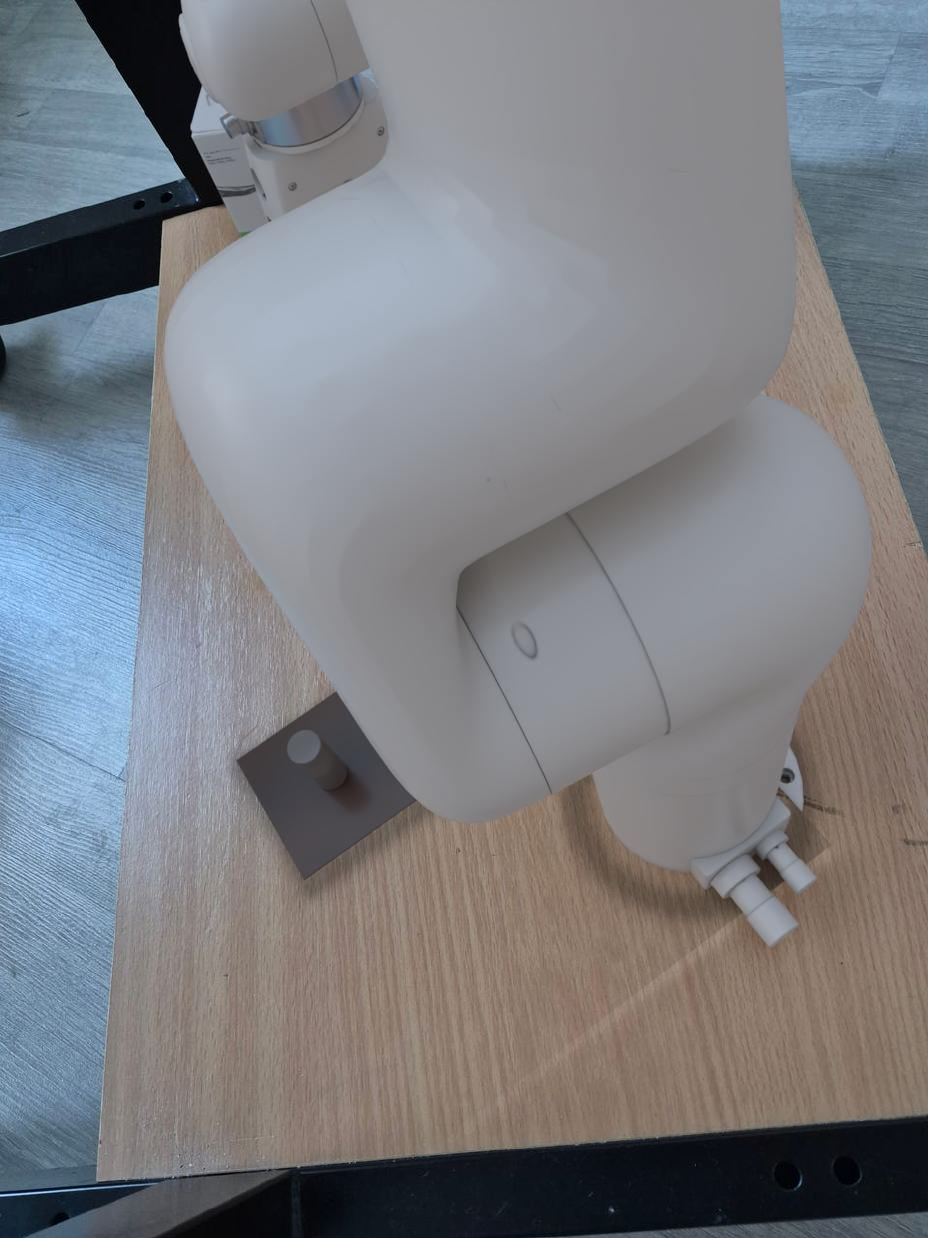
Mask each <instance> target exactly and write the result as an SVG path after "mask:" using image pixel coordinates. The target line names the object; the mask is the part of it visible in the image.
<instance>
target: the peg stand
mask: <svg viewBox="0 0 928 1238" xmlns="http://www.w3.org/2000/svg"><path fill="white" fill-rule="evenodd" d="M236 763H237V765H238V767H239V768H240V770H241V772H242V774H243V775H244V777H245V778H246V779H245V780H247V783H248V785H249V786H250V788H251V789H252V791H253V793H254V794H255V796H256V798H257V800H258V801H259V804H260V806H261V807H262V808H263V811H264V812H265V814H266V815H267V818H268V819H269V821H270V823H271V824H272V826H273V828H274V829H275V832H276V833H277V835H278V837H279V838H280V840H281V842H282V843H283V846H284V848H285V849H286V850H287V852H288V854H289V856H290V858H291V859H292V861H293V863H294V865H295V866H296V868H297V870H298V872H299V873H300V875H301V876H302V879H303V880H306V879H309V878H310V877H311V876H313V875H314V874H315V873H317V872H318V871H319V870H321V869H322V868H323V867H326V866H327V865H328V864H329V863H331V862H332V861H334V860H335V859H336V858H338V857H339V856H341V855H343V854H344V853H345V852H347V851H348V850H349V849H350V848H352V847H353V846H355V845H356V844H357V843H359V842H361V841H362V840H363V839H364V838H366V837H367V836H369V835H370V834H371V833H373V832H374V831H376V830H377V829H379V828H380V827H381V826H383V825H385V823H387V822H388V821H390V820H391V819H393V818H394V817H396V816H397V815H398V814H399V813H401V812H403V811H404V810H405V809H406V808H408V807H409V806H411V805H413V804H414V803H415V802H417V800H416V799H415V798H414V797H413V796H412V795H411V794H410V793H409V792H408V791H407V790H406V789H405V788H404V787H403V786H402V784H401V783H400V782H399V781H398V780H397V779H396V777H395V776H394V775H393V774H392V772H391V771H390V770H389V768H388V767H387V766H386V764H385V763H384V761H383V760H382V759H381V757H380V756H379V754H378V753H377V752H376V750H375V749H374V747H373V746H372V745H371V743H370V742H369V740H368V739H367V737H366V736H365V734H364V733H363V731H362V730H361V728H360V726H359V725H358V723H357V722H356V720H355V719H354V717H353V716H352V714H351V713H350V711H349V710H348V708H347V707H346V705H345V704H344V702H343V701H342V699H341V698H340V696H339V695H338V693H337V692H336V691H335V692H333V693H331V694H330V695H329V696H327V697H326V698H324V699H323V700H322V701H320V702H319V703H317V704H316V705H314V706H313V707H312V708H310V709H309V710H307V711H305V712H304V713H303V714H301V715H300V716H299V717H297V718H296V719H294V720H292V721H291V722H290V723H288V724H287V725H286V726H284V727H283V728H281V729H279V730H278V731H277V732H275V733H273V734H272V735H271V736H270V737H267V739H265V740H263V741H262V742H261V743H259V744H258V745H256V746H255V747H254V748H252V749H250V750H249V751H248V752H247V753H245V754H244V755H242V756H240V757H239V758H238V759H236Z"/></svg>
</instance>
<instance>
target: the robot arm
mask: <svg viewBox="0 0 928 1238" xmlns="http://www.w3.org/2000/svg"><path fill="white" fill-rule="evenodd" d="M180 5H181V6H180V7H181V11H182V13H180V14H179V16H178V24H179V25H178V26H179V29H180V30H179V32H180V33H179V34H180V36H181V39H182V42H183V45H184V48H185V51H186V53H187V57H188V59H189V63H190V64H191V67H192V68H193V71H194V73H195V75H196V76H197V78H198V80H199V82H200V84H201V87H202V86H203V88H204V89H205V91H206V93H208V94H209V97H210V98H211V99H212V100H213V101H214V102H216V103H218V104H220V105H221V106H222V107H223V108H224V109H225V110H226V111H227V112H229V113H227V114H225V115H224V116H222V117H220V121H221V124H222V126H223V128H224V129H225V131H226V133H227V134H228V136H229V137H230V138H231V139H233V138H235V137H237V136H238V135H240V134H242V135H243V138H244V144H245V150H246V154H247V159H248V163H249V167H250V170H251V174H252V178H253V181H254V185H255V188H256V191H257V194H258V197H259V200H260V203H261V205H262V208H263V211H264V214H265V216H266V219H267V222H268V223H266V224H265V225H263V226H261V227H259V228H257V229H256V230H254V231H252V232H250V233H249V234H247V235H245V236H243V237H241V236H240V238H238V239H236V240H235V241H233V242H232V243H230V244H229V245H227V246H226V247H225V248H223V249H222V250H221V251H219V252H218V253H216V254H215V255H214V256H212V257H211V258H209V259H208V260H207V261H205V263H203V264H202V265H201V266H200V267H199V268H198V269H197V270H196V271H195V272H194V273H193V274H192V275H191V276H190V278H189V279H188V280H187V282H185V284H184V286H182V288H181V290H180V291H179V293H178V294H177V297H176V298H175V301H174V303H173V304H172V306H171V308H170V311H169V315H168V318H167V322H166V325H165V332H164V342H163V364H164V365H163V366H164V375H165V379H166V384H167V389H168V392H169V396H170V401H171V404H172V409H173V412H174V416H175V418H176V422H177V424H178V426H179V429H180V431H181V434H182V436H183V439H184V442H185V444H186V446H187V449H188V452H189V454H190V456H191V459H192V461H193V463H194V465H195V467H196V469H197V471H198V473H199V475H200V477H201V479H202V481H203V483H204V485H205V488H206V489H207V491H208V493H209V495H210V497H211V499H212V501H213V502H214V504H215V506H216V507H217V509H218V511H219V512H220V514H221V516H222V518H223V519H224V521H225V523H226V525H227V526H228V528H229V530H230V531H231V533H232V535H233V537H234V538H235V539H236V541H237V543H238V545H239V547H240V548H241V550H242V551H243V554H244V555H245V556H246V558H247V560H248V562H250V564H251V566H252V567H253V569H254V570H255V572H256V573H257V575H258V576H259V577H260V579H261V581H262V582H263V584H264V585H265V587H266V588H267V589H268V591H269V593H270V594H271V596H272V597H273V599H274V600H275V602H276V603H277V605H278V606H279V608H280V609H281V611H282V613H283V614H284V616H285V617H286V618H287V620H288V621H289V623H290V624H291V626H292V628H293V629H294V630H295V632H296V633H297V635H298V636H299V638H300V639H301V641H302V642H303V644H304V645H305V647H306V648H307V650H308V652H309V653H310V654H311V656H312V657H313V659H314V660H315V662H316V663H317V665H318V667H319V668H320V669H321V671H322V672H323V674H324V675H325V677H326V678H327V680H328V681H329V682H330V684H331V686H332V688H333V689H334V690H335V692H337V693H338V695H339V696H340V698H341V699H342V701H343V702H344V704H345V705H346V707H347V708H348V710H349V711H350V713H351V714H352V716H353V717H354V719H355V720H356V722H357V723H358V725H359V726H360V728H361V730H362V731H363V733H364V734H365V736H366V737H367V739H368V740H369V742H370V743H371V745H372V746H373V747H374V749H375V750H376V752H377V753H378V754H379V756H380V757H381V759H382V760H383V761H384V763H385V764H386V766H387V767H388V768H389V770H390V771H391V772H392V774H393V775H394V776H395V777H396V779H397V780H398V781H399V782H400V783H401V784H402V786H403V787H404V788H405V789H406V790H407V791H408V792H409V793H410V794H411V795H412V796H413V797H414V798H415V799H416V801H417V802H418V803H420V804H421V805H422V806H423V807H424V808H425V809H426V810H429V811H430V812H431V813H433V814H434V815H436V816H438V817H440V818H441V819H442V818H443V819H444V820H448V821H451V822H455V823H459V824H466V825H468V824H469V825H476V824H484V823H489V822H494V821H497V820H499V819H502V818H506V817H508V816H510V815H513V814H515V813H518V812H519V811H520V812H521V810H524V809H526V808H528V807H531V806H532V805H535V804H537V803H538V802H540V801H543V800H545V799H546V798H549V797H550V796H553V795H555V794H556V793H558V792H560V791H562V790H564V789H566V788H568V787H570V786H572V785H574V784H575V783H577V782H579V781H581V780H583V779H584V778H586V777H588V776H591V775H592V778H593V782H594V785H595V788H596V789H595V790H596V793H597V796H598V799H599V803H600V806H601V809H602V813H603V815H604V819H605V821H606V823H607V825H608V826H609V828H610V829H611V831H612V833H613V834H614V836H615V838H616V839H617V840H618V841H619V842H620V843H621V844H622V845H623V846H624V847H625V848H626V849H627V850H628V851H629V852H630V853H632V854H633V855H634V856H636V857H638V858H639V859H641V860H643V862H645V863H647V864H650V865H651V866H655V867H658V868H661V869H663V870H666V871H673V872H679V873H685V874H686V873H687V874H691V875H692V876H693V878H694V879H695V880H696V882H697V883H698V884H699V885H700V887H701V888H702V889H704V890H706V891H708V890H709V889H711V888H714V890H715V891H716V893H718V895H719V896H720V897H721V898H722V899H723V900H725V899H728V898H731V900H733V902H734V903H735V905H737V907H738V908H739V909H740V911H742V913H743V914H744V915H745V917H746V921H747V922H748V923H749V925H750V926H751V927H752V928H753V930H754V931H755V932H756V933H757V935H758V936H759V937H760V938H761V940H762V941H763V942H764V943H765V944H766V946H767V947H768V948H769V949H772V948H773V947H774V946H776V945H778V944H779V943H780V942H782V941H783V940H784V939H786V938H788V937H789V936H790V935H791V934H792V933H793V932H795V930H796V929H798V928H799V927H800V925H801V924H800V923H799V922H798V920H797V919H796V918H795V917H794V916H793V914H792V913H791V912H790V911H789V910H788V908H787V907H786V906H785V905H784V904H783V902H782V901H781V900H780V899H779V898H778V896H776V895H774V894H773V893H772V892H771V891H770V890H769V888H768V887H767V886H766V885H765V883H764V882H763V881H762V880H761V879H760V878H759V877H758V875H759V873H760V872H761V867H760V866H759V865H758V863H757V862H756V861H755V860H754V859H753V856H755V855H757V856H758V858H759V859H760V860H761V861H764V860H766V859H767V860H768V861H769V862H770V864H771V865H772V866H773V867H774V868H775V869H776V870H777V872H778V873H779V876H780V877H781V879H783V881H784V882H785V883H786V884H787V886H789V888H790V889H791V890H792V891H793V893H794V894H795V895H796V896H799V895H800V894H802V893H803V892H805V891H806V890H808V889H809V888H810V887H811V886H812V885H813V884H814V883H815V882H817V881H818V879H819V878H818V877H817V876H816V874H815V873H814V872H812V870H811V868H809V866H808V865H807V864H806V863H805V862H804V861H803V859H802V858H799V857H798V855H796V854H795V852H794V851H793V850H792V849H791V848H790V846H788V844H787V842H788V841H789V840H790V837H789V836H788V835H787V834H786V833H785V832H786V830H787V827H788V824H789V821H790V818H791V816H792V812H791V810H790V808H788V807H787V806H786V804H785V803H784V802H783V801H782V800H781V798H780V797H779V796H778V790H779V788H780V789H781V791H783V792H784V794H785V795H786V796H787V797H788V798H789V799H790V801H792V803H793V804H794V806H796V807H797V808H798V809H799V811H801V812H803V810H804V801H805V799H804V787H803V786H804V785H803V777H802V773H801V770H800V767H799V763H798V760H797V757H796V755H795V753H794V751H793V750H792V748H791V746H790V745H791V741H792V737H793V735H794V734H793V733H794V730H795V728H796V724H797V721H798V718H799V714H800V711H801V708H802V704H803V701H804V699H805V696H806V694H807V693H808V692H809V690H810V689H811V688H812V686H813V685H814V684H815V683H816V681H817V680H818V679H819V677H821V675H822V674H823V672H824V671H825V670H826V669H827V667H828V666H829V664H830V663H831V662H832V661H833V659H834V658H835V656H837V653H838V652H839V651H840V649H841V648H842V646H843V645H844V643H845V641H846V640H847V638H848V636H849V635H850V633H851V631H852V629H853V627H854V626H855V624H856V622H857V619H858V617H859V614H860V612H861V609H862V608H863V605H864V601H865V597H866V593H867V590H868V588H869V582H870V575H871V569H872V561H873V560H872V559H873V558H872V557H873V541H872V527H871V519H870V515H869V514H870V513H869V509H868V505H867V502H866V499H865V495H864V492H863V488H862V486H861V483H860V482H859V479H858V477H857V475H856V472H855V470H854V468H853V467H852V465H851V463H850V461H849V460H848V458H847V456H846V455H845V453H844V451H843V450H842V448H841V447H840V446H839V444H837V442H836V441H835V440H834V438H832V436H831V434H830V433H829V432H828V431H827V430H826V429H824V428H823V427H822V426H821V425H820V424H819V423H818V422H817V421H816V420H815V419H814V418H812V417H811V416H809V415H808V414H807V413H806V412H804V411H802V410H801V409H799V408H798V407H796V406H793V405H791V404H790V403H787V402H785V401H783V400H781V399H778V398H774V397H772V396H769V395H765V394H761V393H762V392H763V390H764V389H765V388H766V387H767V385H768V384H769V383H770V381H771V380H773V378H774V376H775V375H776V373H777V372H778V370H779V368H780V366H781V365H782V363H783V362H784V359H785V357H786V354H787V351H788V347H789V344H790V340H791V337H792V334H793V328H794V320H795V313H796V304H797V245H796V243H797V242H796V241H797V240H796V221H795V205H794V204H795V203H794V189H793V175H792V160H791V147H790V144H791V143H790V130H789V117H788V99H787V86H786V85H787V84H786V71H785V57H784V44H783V43H784V42H783V28H782V15H781V14H782V13H781V11H782V10H781V0H180ZM368 69H370V72H371V74H372V77H373V80H374V82H373V81H372V80H371V79H369V78H368V77H366V76H365V75H364V74H362V72H365V71H367V70H368ZM784 777H785V778H787V779H788V780H789V782H787V783H786V782H783V781H782V778H784Z"/></svg>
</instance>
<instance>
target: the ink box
mask: <svg viewBox="0 0 928 1238" xmlns="http://www.w3.org/2000/svg"><path fill="white" fill-rule="evenodd" d="M227 113H229V112H227V111H226V110H225V109H224V108H223V107H222V106H221V105H220V104H218V103H216V102H214V101H213V100H212V99H211V98H210V97H209V94H208V93H206V91H205V89H204V88H203V86H202V85H201V88H200V92H199V95H198V98H197V102H196V106H195V109H194V112H193V117H192V120H191V123H190V131H191V138H192V141H193V142H194V144H195V146H196V149H197V151H198V153H199V154H200V156H201V157H200V158H201V159H202V161H203V163H204V165H205V167H206V169H207V171H208V173H209V175H210V177H211V179H212V181H213V183H214V185H215V187H216V189H217V191H218V193H219V195H220V197H221V199H222V201H223V204H224V205H225V207H226V209H227V212H228V214H229V216H230V218H231V221H233V224H234V226H235V228H236V230H237V232H238V234H239V235H240V238H241V237H243V236H245V235H247V234H249V233H250V232H252V231H254V230H256V229H257V228H259V227H261V226H263V225H265V224H266V223H268V222H267V219H266V216H265V214H264V211H263V208H262V205H261V203H260V200H259V197H258V194H257V191H256V188H255V185H254V181H253V178H252V174H251V170H250V167H249V163H248V159H247V154H246V150H245V144H244V138H243V135H242V134H240V135H238V136H237V137H235V138H233V139H231V138H230V137H229V136H228V134H227V133H226V131H225V129H224V128H223V126H222V124H221V121H220V117H222V116H224V115H225V114H227Z"/></svg>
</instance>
